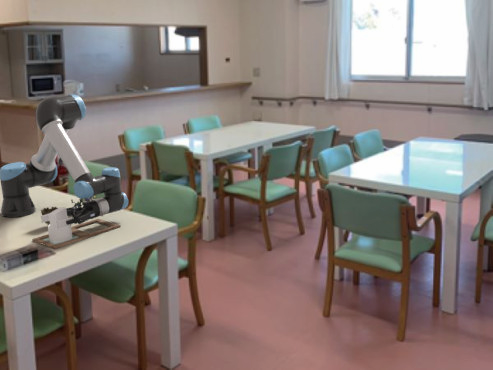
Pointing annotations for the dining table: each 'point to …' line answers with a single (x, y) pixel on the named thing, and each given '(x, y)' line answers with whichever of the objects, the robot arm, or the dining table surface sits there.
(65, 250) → the dining table surface
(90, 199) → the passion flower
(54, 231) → the base with upright slab
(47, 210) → the cup
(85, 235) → the frame with rectangular openings
